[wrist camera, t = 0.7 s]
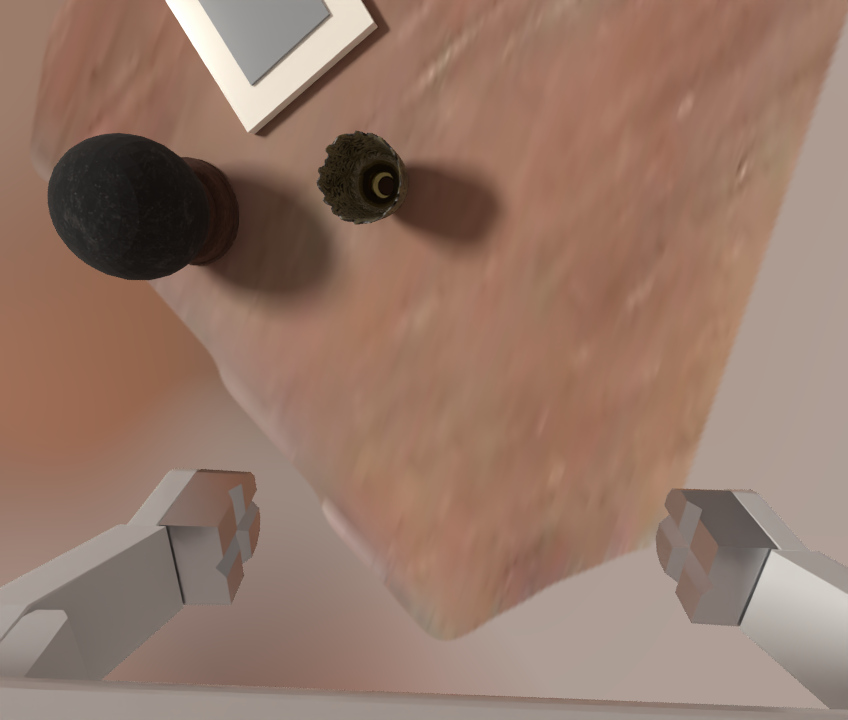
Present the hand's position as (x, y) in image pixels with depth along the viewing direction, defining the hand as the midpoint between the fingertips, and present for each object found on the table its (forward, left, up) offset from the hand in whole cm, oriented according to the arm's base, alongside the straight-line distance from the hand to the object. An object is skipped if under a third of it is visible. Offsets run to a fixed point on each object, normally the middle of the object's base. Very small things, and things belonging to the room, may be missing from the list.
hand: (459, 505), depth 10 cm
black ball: (+27, -26, -42) cm, 56 cm away
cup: (+7, -16, -42) cm, 45 cm away
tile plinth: (+8, -36, -42) cm, 56 cm away
